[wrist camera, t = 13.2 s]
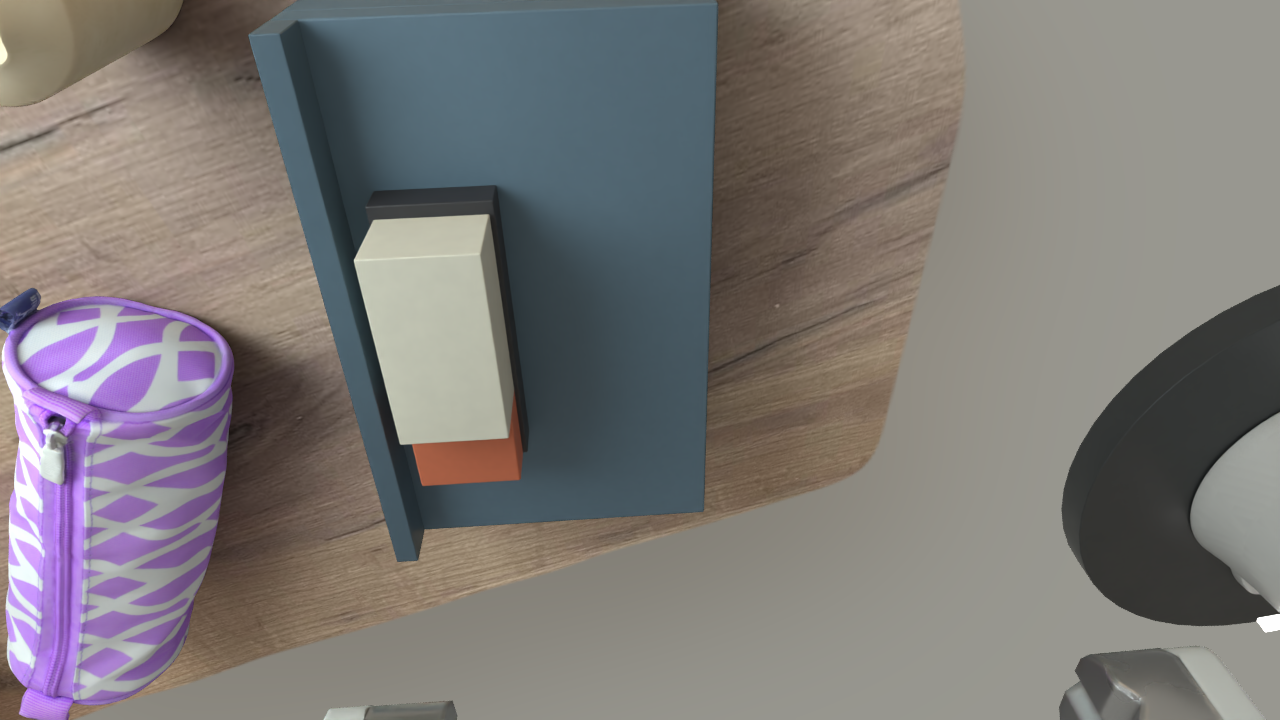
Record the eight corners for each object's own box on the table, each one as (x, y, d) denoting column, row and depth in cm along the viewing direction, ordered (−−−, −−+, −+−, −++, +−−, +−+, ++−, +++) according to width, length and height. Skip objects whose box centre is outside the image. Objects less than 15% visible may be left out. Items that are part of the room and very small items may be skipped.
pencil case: (54, 251, 37) (-84, 369, 30) (266, 305, 40) (190, 428, 32) (62, 567, 49) (-36, 712, 41) (227, 595, 51) (163, 738, 43)
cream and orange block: (373, 190, 30) (343, 247, 26) (496, 184, 31) (484, 239, 27) (428, 437, 37) (411, 510, 33) (529, 431, 37) (524, 503, 33)
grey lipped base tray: (697, -29, 32) (727, 15, 26) (690, 436, 46) (709, 542, 39) (315, -14, 32) (247, 34, 25) (423, 452, 45) (397, 562, 39)
